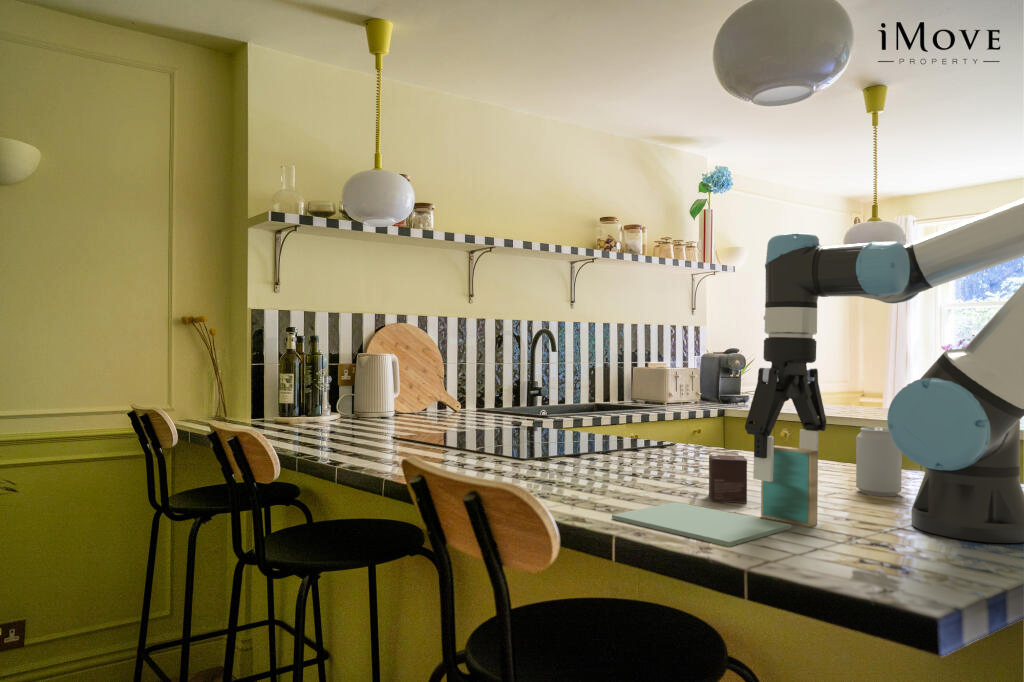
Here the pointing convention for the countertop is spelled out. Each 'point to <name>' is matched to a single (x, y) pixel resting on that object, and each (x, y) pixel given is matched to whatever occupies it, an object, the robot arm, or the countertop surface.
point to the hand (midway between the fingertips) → (786, 476)
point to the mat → (702, 523)
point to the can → (878, 463)
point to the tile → (792, 486)
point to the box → (728, 478)
